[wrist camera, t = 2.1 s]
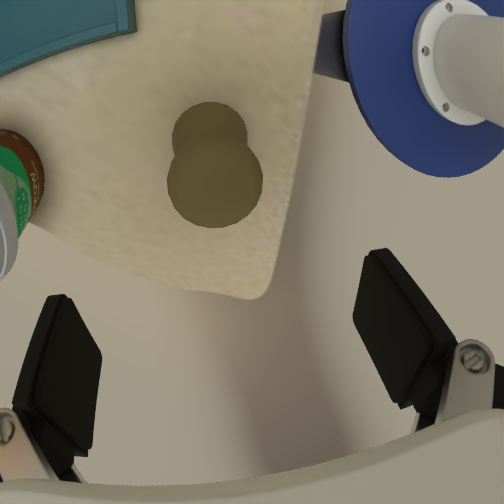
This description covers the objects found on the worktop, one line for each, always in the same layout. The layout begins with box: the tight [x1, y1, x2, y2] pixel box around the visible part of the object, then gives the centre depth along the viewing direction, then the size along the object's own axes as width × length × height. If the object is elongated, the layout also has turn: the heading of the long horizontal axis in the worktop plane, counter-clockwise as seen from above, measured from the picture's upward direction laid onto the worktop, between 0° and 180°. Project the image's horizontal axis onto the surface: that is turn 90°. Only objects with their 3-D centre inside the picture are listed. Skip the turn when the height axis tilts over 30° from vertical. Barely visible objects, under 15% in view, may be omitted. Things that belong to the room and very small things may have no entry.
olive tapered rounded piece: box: [167, 102, 263, 228], centre depth 20 cm, size 6×6×11 cm
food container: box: [0, 129, 44, 280], centre depth 19 cm, size 12×6×10 cm, turn 173°
